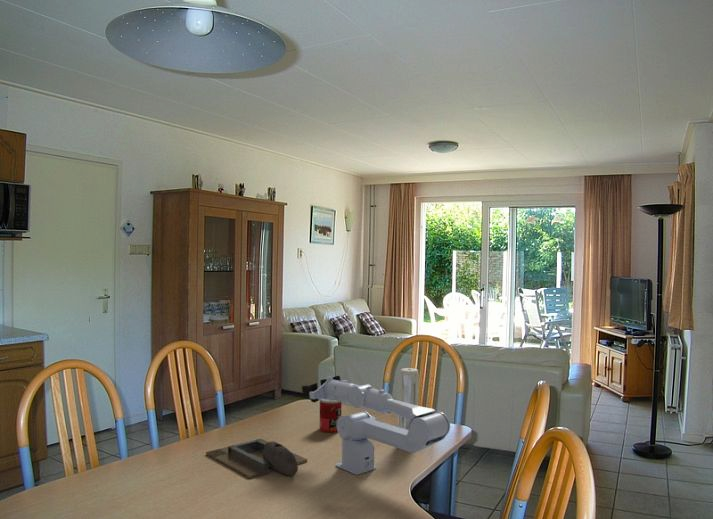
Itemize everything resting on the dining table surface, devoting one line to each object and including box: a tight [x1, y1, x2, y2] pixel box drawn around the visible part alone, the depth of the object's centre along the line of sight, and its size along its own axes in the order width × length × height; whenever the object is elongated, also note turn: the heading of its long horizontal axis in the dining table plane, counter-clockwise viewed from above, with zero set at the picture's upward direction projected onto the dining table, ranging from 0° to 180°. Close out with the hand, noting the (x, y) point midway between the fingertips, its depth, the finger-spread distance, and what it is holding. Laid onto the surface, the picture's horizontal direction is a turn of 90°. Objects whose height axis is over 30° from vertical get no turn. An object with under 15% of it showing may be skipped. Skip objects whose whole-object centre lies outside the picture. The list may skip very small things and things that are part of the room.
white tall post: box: [397, 367, 420, 430], centre depth 185 cm, size 6×6×25 cm
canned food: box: [319, 399, 343, 434], centre depth 200 cm, size 8×8×11 cm
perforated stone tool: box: [262, 441, 299, 477], centre depth 160 cm, size 15×5×7 cm, turn 38°
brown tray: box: [205, 438, 308, 480], centre depth 170 cm, size 25×20×3 cm
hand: (312, 386), depth 179 cm, fingers open, 7 cm apart
